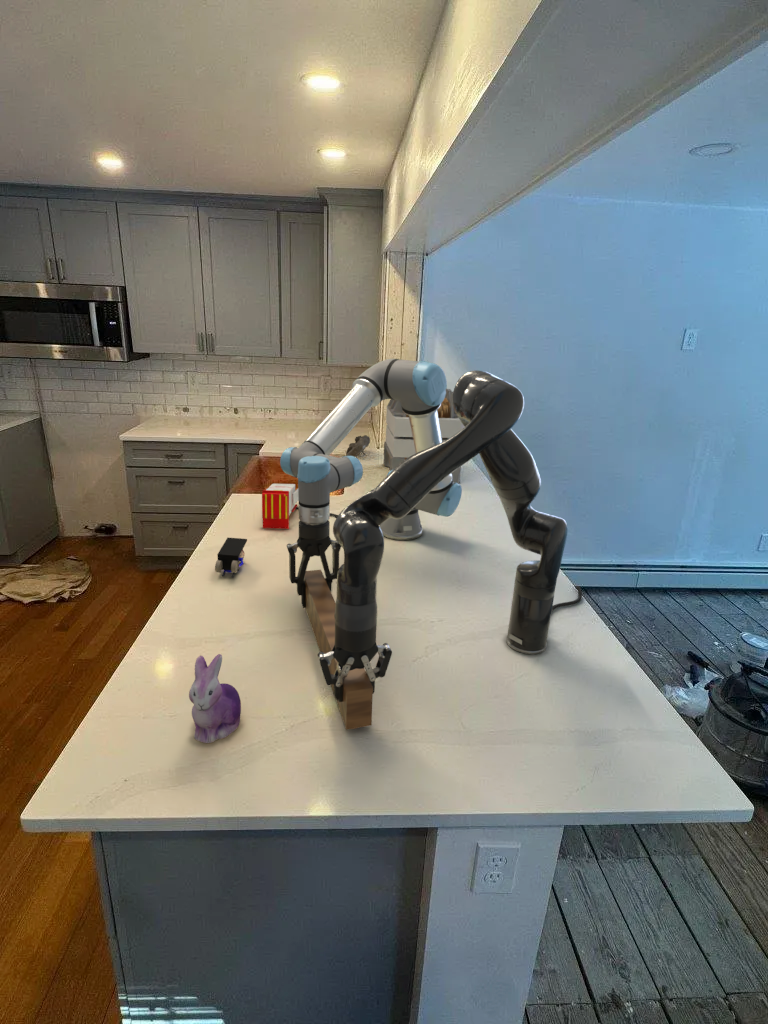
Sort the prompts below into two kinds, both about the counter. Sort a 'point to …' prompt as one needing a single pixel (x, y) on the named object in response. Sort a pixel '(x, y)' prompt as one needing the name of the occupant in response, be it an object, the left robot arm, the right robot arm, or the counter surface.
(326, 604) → the beam
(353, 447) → the fossil
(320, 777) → the counter surface
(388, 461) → the slatted crate
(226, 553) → the figurine character
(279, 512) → the toy
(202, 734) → the figurine
